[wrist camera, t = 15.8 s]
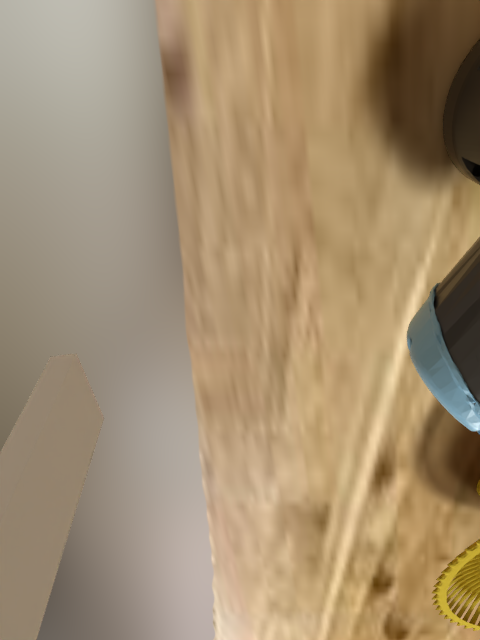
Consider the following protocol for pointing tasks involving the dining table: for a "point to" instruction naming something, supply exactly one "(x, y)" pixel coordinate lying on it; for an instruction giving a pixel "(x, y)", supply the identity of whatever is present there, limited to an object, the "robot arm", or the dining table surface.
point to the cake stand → (461, 585)
